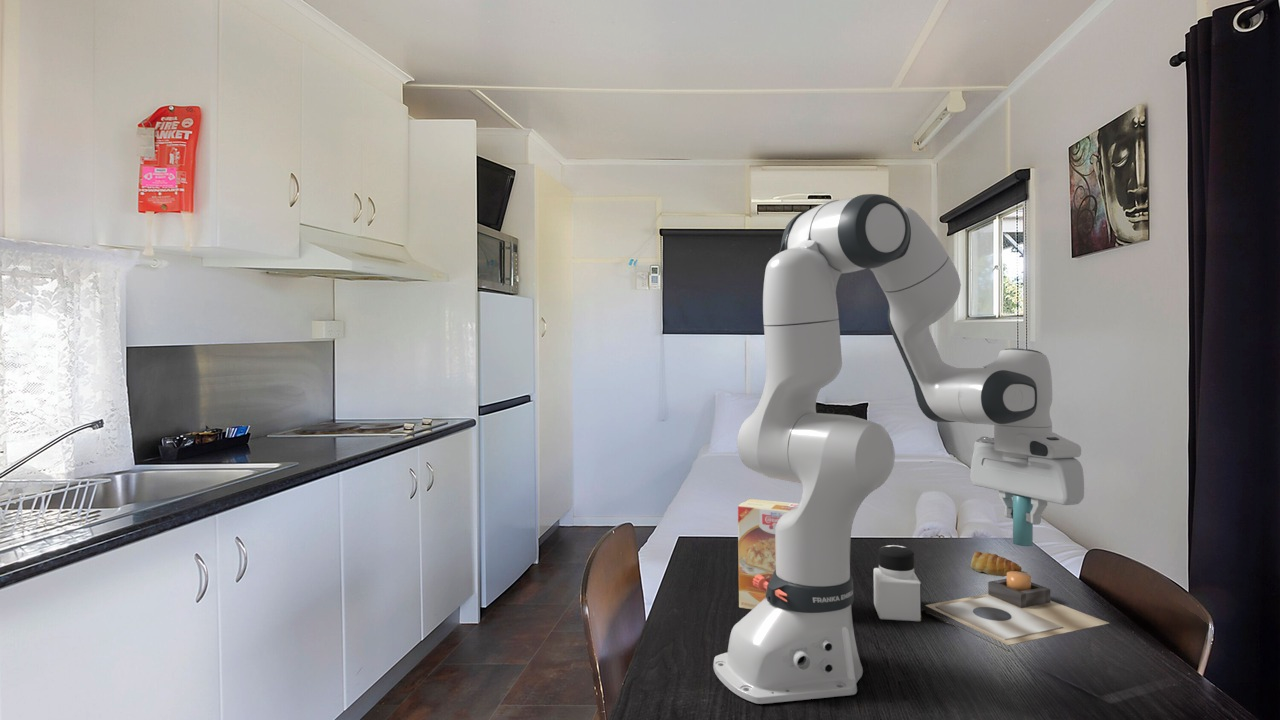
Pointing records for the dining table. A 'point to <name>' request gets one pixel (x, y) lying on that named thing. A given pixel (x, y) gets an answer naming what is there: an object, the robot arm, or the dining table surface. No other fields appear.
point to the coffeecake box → (757, 545)
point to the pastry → (993, 564)
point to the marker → (1022, 521)
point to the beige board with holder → (1015, 614)
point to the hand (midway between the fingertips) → (1022, 520)
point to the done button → (1019, 580)
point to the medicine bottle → (897, 585)
